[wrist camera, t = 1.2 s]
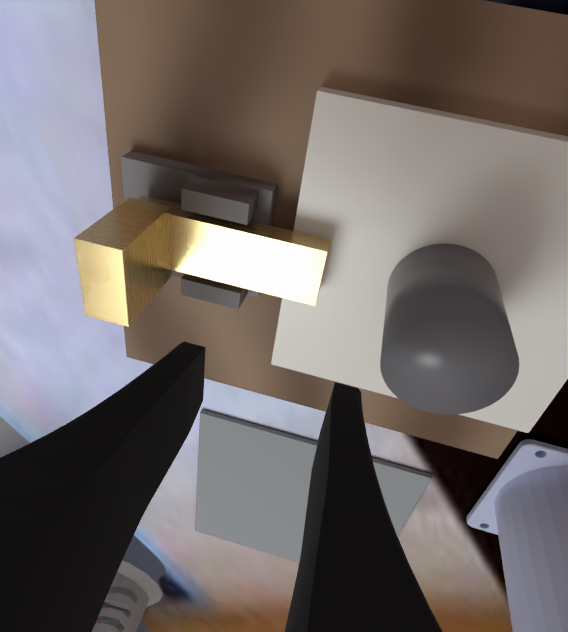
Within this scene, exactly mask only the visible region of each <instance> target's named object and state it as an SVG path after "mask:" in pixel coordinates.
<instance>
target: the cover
mask: <svg viewBox="0 0 568 632" xmlns="http://www.w3.org/2000/svg"><path fill="white" fill-rule="evenodd" d="M293 231H297V232H301V233H305V234H309V235H314V236H318V237H322V238H326V239H331V243H330V248H329V252H328V257H327V261H326V265H325V270H324V274H323V279H322V283H321V287H320V292H319V295H318V298H317V301H316V305H315V306H313V305H309V304H305V303H301V302H297V301H293V300H289V299H285V298H282V302H281V308H280V314H279V320H278V325H277V331H276V337H275V343H274V349H273V355H272V361H271V364H272V365H276V366H279V367H283V368H287V369H291V370H294V371H298V372H302V373H306V374H309V375H313V376H317V377H320V378H324V379H328V380H332V381H335V382H339V383H343V384H347V385H350V386H354V387H358V388H361V389H365V390H369V391H373V392H376V393H380V394H384V395H388V396H391V397H395V398H399V399H400V400H402V401H403V402H405V403H406V404H408V405H410V406H412V407H414V408H417V409H419V410H423V411H426V412H430V413H436V414H447V415H453V414H459V415H462V416H466V417H470V418H473V419H477V420H481V421H485V422H488V423H492V424H496V425H500V426H503V427H507V428H511V429H515V430H518V431H522V432H526V433H529V432H530V430H531V429H532V427H533V426H534V425H535V423H536V422H537V420H538V419H539V418H540V416H541V415H542V414H543V412H544V411H545V409H546V408H547V407H548V405H549V404H550V402H551V401H552V400H553V398H554V397H555V395H556V394H557V393H558V391H559V390H560V389H561V387H562V386H563V384H564V383H565V382H566V380H567V379H568V136H563V135H558V134H553V133H548V132H543V131H538V130H533V129H529V128H524V127H519V126H514V125H509V124H504V123H499V122H494V121H489V120H484V119H479V118H474V117H469V116H464V115H459V114H454V113H450V112H445V111H440V110H435V109H430V108H425V107H420V106H415V105H410V104H405V103H400V102H395V101H390V100H385V99H380V98H375V97H371V96H366V95H361V94H356V93H351V92H346V91H341V90H336V89H331V88H326V87H320V88H319V89H318V90H317V94H316V100H315V106H314V112H313V118H312V124H311V129H310V135H309V141H308V147H307V153H306V159H305V165H304V171H303V177H302V183H301V189H300V195H299V201H298V207H297V213H296V219H295V225H294V230H293Z"/></svg>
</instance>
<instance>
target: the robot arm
mask: <svg viewBox="0 0 568 632" xmlns="http://www.w3.org/2000/svg"><path fill="white" fill-rule="evenodd" d="M205 349H206V347H203V346H199V345H196V344H192V343H188V342H182V343H180V344H179V345H178V346H176V347H175V348H174V349H173V350H171V351H170V352H169V353H168V354H166V355H165V356H164V357H163V358H161V359H160V360H159V361H158V362H156V363H155V364H154V365H153V366H151V367H150V368H149V369H147V370H146V371H145V372H144V373H142V374H141V375H140V376H138V377H137V378H135V379H134V380H133V381H131V382H130V383H129V384H127V385H126V386H125V387H123V388H122V389H120V390H119V391H118V392H116V393H115V394H113V395H112V396H110V397H109V398H107V399H106V400H104V401H103V402H101V403H100V404H98V405H97V406H95V407H94V408H92V409H90V410H89V411H87V412H86V413H84V414H82V415H81V416H79V417H78V418H76V419H74V420H72V421H71V422H69V423H67V424H66V425H64V426H62V427H60V428H58V429H57V430H55V431H53V432H51V433H49V434H48V435H46V436H44V437H42V438H40V439H38V440H36V441H34V442H32V443H30V444H28V445H26V446H24V447H22V448H20V449H18V450H16V451H14V452H12V453H10V454H7V455H5V456H3V457H1V458H0V632H92V630H93V628H94V625H95V623H96V621H97V618H98V616H99V613H100V611H101V609H102V606H103V604H104V601H105V599H106V596H107V594H108V592H109V589H110V587H111V585H112V583H113V580H114V578H115V576H116V573H117V571H118V569H119V566H120V564H121V562H122V560H123V557H124V555H125V553H126V550H127V548H128V546H129V544H130V542H131V539H132V537H133V535H134V533H135V531H136V528H137V526H138V524H139V522H140V520H141V518H142V516H143V514H144V512H145V510H146V508H147V506H148V504H149V503H150V501H151V499H152V497H153V496H154V494H155V492H156V490H157V489H158V487H159V485H160V483H161V482H162V480H163V478H164V476H165V475H166V473H167V471H168V469H169V468H170V466H171V464H172V462H173V461H174V459H175V457H176V455H177V454H178V452H179V450H180V448H181V447H182V445H183V443H184V441H185V439H186V438H187V436H188V434H189V432H190V430H191V427H192V425H193V423H194V420H195V418H196V416H197V413H198V411H199V408H200V406H201V404H202V401H203V390H204V369H205ZM539 451H540V452H539ZM467 523H468V525H469V526H471V527H473V528H477V529H480V530H484V531H487V532H490V533H494V534H497V535H498V536H499V542H500V549H501V556H502V562H503V569H504V576H505V582H506V589H507V596H508V602H509V609H510V616H511V622H512V629H513V632H568V449H566V448H562V447H558V446H555V445H551V444H547V443H543V442H540V441H536V440H531V439H527V440H523V441H521V442H520V443H519V444H518V446H517V447H516V448H515V450H514V451H513V453H512V454H511V455H510V457H509V458H508V460H507V461H506V462H505V464H504V465H503V467H502V468H501V469H500V471H499V472H498V474H497V475H496V476H495V478H494V479H493V480H492V482H491V483H490V485H489V486H488V487H487V489H486V490H485V492H484V493H483V494H482V496H481V497H480V499H479V500H478V501H477V503H476V504H475V506H474V507H473V508H472V510H471V511H470V513H469V514H468V515H467ZM285 632H442V630H441V628H440V626H439V624H438V622H437V620H436V619H435V617H434V615H433V613H432V611H431V609H430V607H429V605H428V603H427V601H426V599H425V597H424V594H423V592H422V590H421V588H420V586H419V584H418V582H417V580H416V578H415V576H414V574H413V572H412V569H411V567H410V565H409V563H408V561H407V558H406V556H405V553H404V551H403V549H402V546H401V544H400V542H399V539H398V537H397V534H396V531H395V529H394V526H393V524H392V521H391V518H390V516H389V513H388V510H387V507H386V504H385V501H384V498H383V495H382V492H381V488H380V485H379V482H378V479H377V475H376V471H375V468H374V464H373V460H372V456H371V452H370V448H369V444H368V439H367V434H366V428H365V423H364V417H363V409H362V398H361V391H360V390H359V388H356V387H352V386H349V385H345V384H341V383H337V382H335V383H334V387H333V390H332V394H331V397H330V401H329V404H328V407H327V411H326V414H325V418H324V421H323V424H322V428H321V431H320V435H319V439H318V444H317V448H316V452H315V457H314V461H313V466H312V471H311V479H310V486H309V494H308V502H307V510H306V518H305V526H304V534H303V541H302V549H301V556H300V562H299V568H298V573H297V578H296V582H295V587H294V592H293V596H292V601H291V606H290V610H289V615H288V619H287V624H286V629H285Z"/></svg>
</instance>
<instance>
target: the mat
mask: <svg viewBox="0 0 568 632" xmlns="http://www.w3.org/2000/svg"><path fill="white" fill-rule="evenodd" d="M317 444H318V442H316V441H312V440H309V439H305V438H302V437H298V436H295V435H291V434H288V433H284V432H281V431H277V430H274V429H270V428H266V427H263V426H259V425H256V424H252V423H249V422H245V421H242V420H238V419H235V418H231V417H228V416H224V415H220V414H217V413H213V412H210V411H206V410H203V409H202V410H201V412H200V428H199V451H198V473H197V495H196V518H195V531H198V532H201V533H204V534H208V535H211V536H214V537H217V538H221V539H224V540H227V541H230V542H233V543H237V544H240V545H243V546H246V547H249V548H253V549H256V550H259V551H262V552H266V553H269V554H272V555H275V556H278V557H282V558H285V559H288V560H291V561H294V562H298V563H299V562H300V556H301V549H302V541H303V534H304V526H305V518H306V510H307V502H308V494H309V486H310V479H311V471H312V466H313V461H314V457H315V452H316V448H317ZM372 460H373V464H374V468H375V471H376V475H377V479H378V482H379V485H380V488H381V492H382V495H383V498H384V501H385V504H386V507H387V510H388V513H389V516H390V518H391V521H392V524H393V526H394V529H395V531H396V534H397V537H398V535H399V533H400V532H401V530H402V528H403V526H404V525H405V523H406V521H407V520H408V518H409V516H410V514H411V513H412V511H413V509H414V507H415V506H416V504H417V502H418V500H419V499H420V497H421V495H422V493H423V492H424V490H425V488H426V487H427V485H428V483H429V481H430V480H431V474H429V473H426V472H422V471H419V470H415V469H412V468H408V467H404V466H401V465H397V464H394V463H390V462H387V461H383V460H380V459H376V458H373V457H372Z"/></svg>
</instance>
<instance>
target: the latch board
mask: <svg viewBox="0 0 568 632" xmlns="http://www.w3.org/2000/svg"><path fill="white" fill-rule="evenodd" d="M95 10H96V21H97V32H98V43H99V54H100V65H101V76H102V87H103V98H104V110H105V121H106V132H107V143H108V154H109V165H110V176H111V187H112V198H113V209H115V208H116V207H117V206H119V205H120V204H121V203H123V202H124V201H126V200H127V199H128V198H130V197H131V198H135V199H139V198H140V197H141V196H143V195H144V196H149V197H153V198H157V199H161V200H166V201H170V202H174V203H178V204H181V209H182V210H186V211H190V212H194V213H198V214H203V215H207V216H211V217H215V218H220V219H224V220H228V221H232V222H236V223H241V224H245V225H248V223H249V222H250V221H254V222H259V223H263V224H267V225H271V226H276V227H280V228H284V229H288V230H292V231H293V230H294V225H295V219H296V213H297V207H298V201H299V195H300V189H301V183H302V177H303V171H304V165H305V159H306V153H307V147H308V141H309V135H310V129H311V124H312V118H313V112H314V106H315V100H316V94H317V90H318V89H319V88H320V87H326V88H331V89H336V90H341V91H346V92H351V93H356V94H361V95H366V96H371V97H375V98H380V99H385V100H390V101H395V102H400V103H405V104H410V105H415V106H420V107H425V108H430V109H435V110H440V111H445V112H450V113H454V114H459V115H464V116H469V117H474V118H479V119H484V120H489V121H494V122H499V123H504V124H509V125H514V126H519V127H524V128H529V129H533V130H538V131H543V132H548V133H553V134H558V135H563V136H568V15H564V14H558V13H553V12H547V11H541V10H536V9H530V8H524V7H519V6H513V5H507V4H502V3H496V2H491V1H485V0H95ZM281 302H282V298H281V297H277V296H273V295H269V294H265V293H261V292H257V291H253V290H249V289H245V288H241V287H238V286H234V285H230V284H226V283H222V282H218V281H214V280H210V279H206V278H202V277H198V276H194V275H190V274H186V273H182V272H178V271H174V270H172V276H171V277H170V279H169V280H168V281H167V282H166V283H165V284H164V286H163V287H162V288H161V289H160V290H159V292H158V293H157V294H156V295H155V296H154V297H153V299H152V300H151V301H150V302H149V303H148V305H147V306H146V307H145V308H144V309H143V310H142V312H141V313H140V314H139V315H138V316H137V318H136V319H135V320H134V321H133V322H132V323H131V325H130V326H129V327H127V326H124V331H125V342H126V354H127V357H129V358H133V359H137V360H140V361H144V362H148V363H151V364H155V363H156V362H158V361H159V360H160V359H161V358H163V357H164V356H165V355H166V354H168V353H169V352H170V351H171V350H173V349H174V348H175V347H176V346H178V345H179V344H180V343H182V342H188V343H192V344H196V345H199V346H203V347H206V349H205V369H204V378H206V379H209V380H213V381H217V382H220V383H224V384H227V385H231V386H235V387H238V388H242V389H246V390H249V391H253V392H257V393H260V394H264V395H267V396H271V397H275V398H278V399H282V400H286V401H289V402H293V403H296V404H300V405H304V406H307V407H311V408H315V409H318V410H322V411H327V407H328V404H329V401H330V397H331V394H332V390H333V387H334V383H335V381H332V380H328V379H324V378H320V377H317V376H313V375H309V374H306V373H302V372H298V371H294V370H291V369H287V368H283V367H279V366H276V365H272V364H271V361H272V355H273V349H274V343H275V337H276V331H277V325H278V320H279V314H280V308H281ZM337 383H339V382H337ZM341 384H343V383H341ZM345 385H347V384H345ZM349 386H350V385H349ZM352 387H354V386H352ZM356 388H358V387H356ZM359 390H360V391H361V398H362V409H363V417H364V422H365V423H369V424H373V425H376V426H380V427H384V428H387V429H391V430H395V431H398V432H402V433H405V434H409V435H413V436H416V437H420V438H424V439H427V440H431V441H435V442H438V443H442V444H445V445H449V446H453V447H456V448H460V449H464V450H467V451H471V452H474V453H478V454H482V455H485V456H489V457H493V458H496V459H498V458H499V457H500V455H501V454H502V452H503V451H504V449H505V448H506V446H507V445H508V444H509V442H510V441H511V439H512V438H513V436H514V435H515V434H516V432H517V431H518V430H515V429H511V428H507V427H503V426H500V425H496V424H492V423H488V422H485V421H481V420H477V419H473V418H470V417H466V416H462V415H459V414H453V415H447V414H436V413H430V412H426V411H423V410H419V409H417V408H414V407H412V406H410V405H408V404H406V403H405V402H403V401H402V400H400V399H399V398H395V397H391V396H388V395H384V394H380V393H376V392H373V391H369V390H365V389H361V388H359Z"/></svg>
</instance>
